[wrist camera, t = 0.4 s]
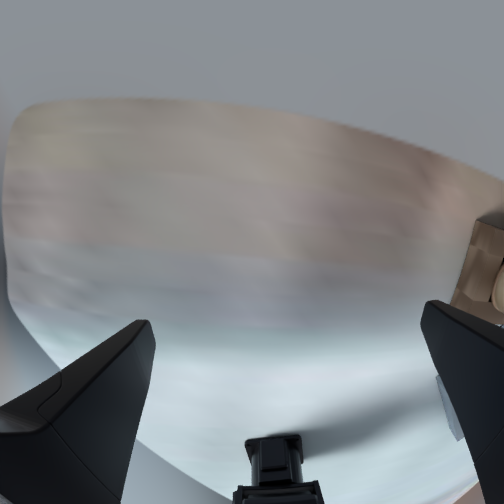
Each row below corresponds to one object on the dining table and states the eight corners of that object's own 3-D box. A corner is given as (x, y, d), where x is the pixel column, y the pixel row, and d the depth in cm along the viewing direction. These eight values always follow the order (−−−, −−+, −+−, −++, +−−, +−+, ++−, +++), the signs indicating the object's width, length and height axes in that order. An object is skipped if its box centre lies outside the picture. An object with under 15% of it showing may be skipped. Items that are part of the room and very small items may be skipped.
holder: (499, 312, 26) (514, 324, 23) (448, 308, 25) (463, 323, 22) (524, 237, 23) (542, 245, 20) (475, 220, 22) (495, 228, 20)
